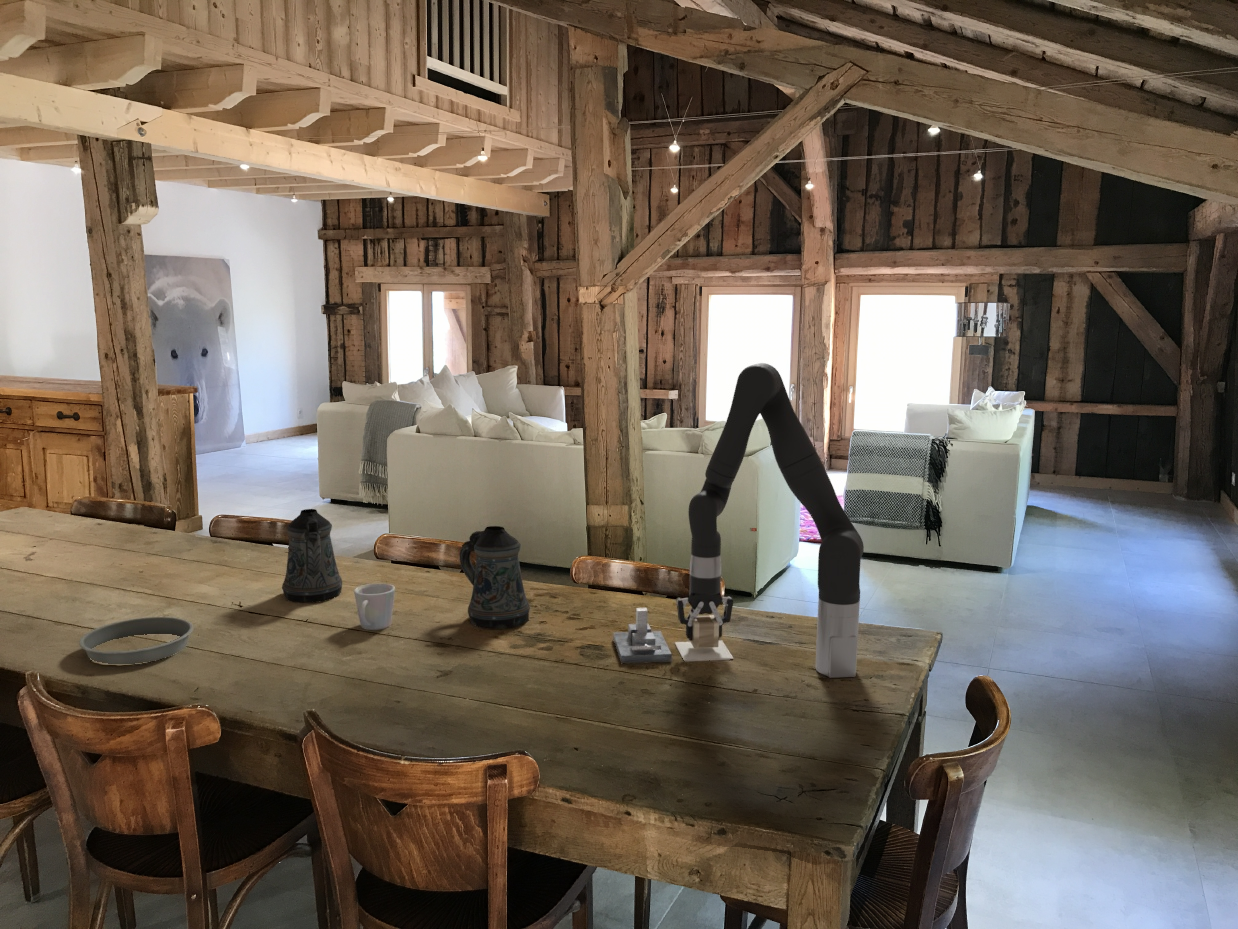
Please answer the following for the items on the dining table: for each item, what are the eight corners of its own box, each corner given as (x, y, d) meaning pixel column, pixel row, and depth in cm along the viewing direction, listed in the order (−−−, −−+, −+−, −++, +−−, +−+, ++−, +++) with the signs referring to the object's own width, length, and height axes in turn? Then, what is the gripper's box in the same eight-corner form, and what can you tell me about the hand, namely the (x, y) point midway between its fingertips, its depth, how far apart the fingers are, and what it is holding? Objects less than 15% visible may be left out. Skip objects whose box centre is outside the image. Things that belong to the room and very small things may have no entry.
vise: (671, 662, 222) (672, 619, 220) (621, 664, 221) (621, 621, 219) (660, 638, 238) (660, 598, 236) (613, 640, 236) (613, 600, 234)
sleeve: (718, 647, 226) (719, 623, 225) (693, 648, 225) (694, 624, 224) (712, 638, 232) (713, 615, 231) (689, 639, 231) (689, 616, 230)
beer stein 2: (526, 630, 243) (525, 536, 239) (451, 629, 243) (449, 535, 239) (533, 610, 259) (532, 521, 255) (463, 609, 260) (461, 520, 255)
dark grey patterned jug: (321, 582, 283) (317, 501, 279) (360, 595, 271) (357, 511, 267) (271, 595, 270) (266, 510, 266) (309, 609, 258) (305, 520, 254)
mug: (401, 619, 250) (400, 583, 249) (382, 639, 236) (381, 600, 234) (363, 618, 251) (362, 582, 250) (342, 637, 237) (340, 599, 235)
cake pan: (57, 658, 222) (55, 640, 221) (151, 627, 244) (149, 610, 243) (124, 677, 211) (123, 658, 210) (216, 643, 232) (215, 626, 232)
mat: (733, 659, 224) (733, 658, 224) (683, 661, 222) (683, 659, 222) (721, 642, 236) (722, 640, 235) (674, 643, 234) (674, 642, 234)
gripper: (678, 577, 221) (677, 645, 224) (738, 576, 223) (736, 643, 226) (673, 569, 228) (671, 635, 231) (730, 567, 230) (729, 633, 233)
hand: (703, 639), depth 228 cm, fingers closed on sleeve, 6 cm apart
